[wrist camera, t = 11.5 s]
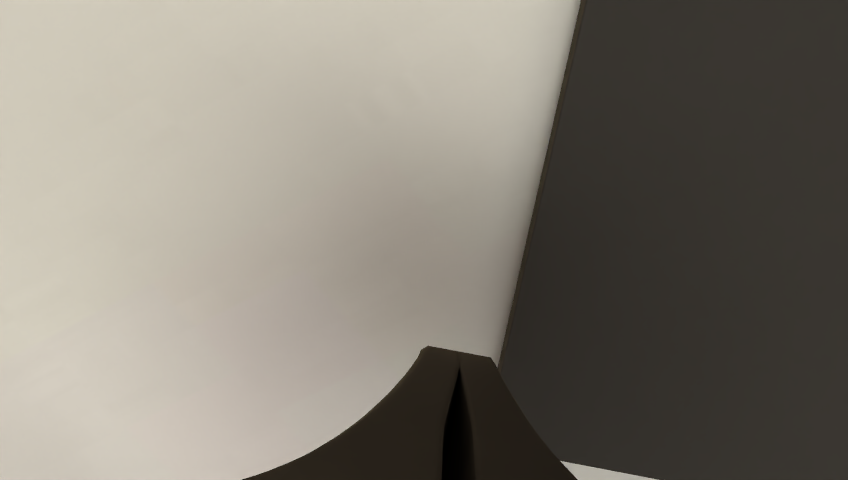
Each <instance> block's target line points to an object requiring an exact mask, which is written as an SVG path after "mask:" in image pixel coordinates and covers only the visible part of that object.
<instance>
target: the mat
mask: <svg viewBox="0 0 848 480" xmlns="http://www.w3.org/2000/svg"><path fill="white" fill-rule="evenodd" d="M498 371H499V373H500V375H501V376H502V378H503V380H504V382H505V384H506V385H507V387H508V389H509V391H510V392H511V394H512V396H513V398H514V399H515V401H516V402H517V404H518V406H519V407H520V409H521V410H522V412H523V413H524V415H525V416H526V418H527V419H528V421H529V423H530V424H531V425H532V427H533V428H534V430H535V431H536V432H537V434H538V435H539V436H540V438H541V439H542V440H543V441H544V443H545V444H546V445H547V447H548V448H549V449H550V450H551V451H552V453H553V454H554V455H555V456H556V457H557V458H558V460H559V461H565V462H570V463H575V464H580V465H586V466H591V467H596V468H601V469H607V470H612V471H617V472H622V473H628V474H633V475H638V476H643V477H648V478H654V479H659V480H848V0H581V4H580V9H579V13H578V17H577V22H576V26H575V30H574V35H573V39H572V44H571V48H570V52H569V57H568V61H567V66H566V70H565V74H564V79H563V83H562V88H561V92H560V96H559V101H558V105H557V110H556V114H555V118H554V123H553V127H552V132H551V136H550V140H549V145H548V149H547V153H546V158H545V162H544V167H543V171H542V175H541V180H540V184H539V189H538V193H537V197H536V202H535V206H534V211H533V215H532V219H531V224H530V228H529V233H528V237H527V241H526V246H525V250H524V255H523V259H522V263H521V268H520V272H519V276H518V281H517V285H516V290H515V294H514V298H513V303H512V307H511V312H510V316H509V320H508V325H507V329H506V334H505V338H504V342H503V347H502V351H501V356H500V360H499V364H498Z"/></svg>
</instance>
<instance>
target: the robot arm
mask: <svg viewBox="0 0 848 480" xmlns="http://www.w3.org/2000/svg"><path fill="white" fill-rule="evenodd" d="M242 480H577V479H576V478H575V477H574V475H573V474H572V473H571V472H570V471H569V470H568V469H567V468H566V467H565V466H564V465H563V464H562V463H561V462H560V461H559V460H558V458H557V457H556V456H555V455H554V454H553V453H552V451H551V450H550V449H549V448H548V447H547V445H546V444H545V443H544V441H543V440H542V439H541V438H540V436H539V435H538V434H537V432H536V431H535V430H534V428H533V427H532V425H531V424H530V423H529V421H528V419H527V418H526V416H525V415H524V413H523V412H522V410H521V409H520V407H519V406H518V404H517V402H516V401H515V399H514V398H513V396H512V394H511V392H510V391H509V389H508V387H507V385H506V384H505V382H504V380H503V378H502V376H501V375H500V373H499V371H498V369H497V367H496V365H495V363H494V362H493V360H492V359H491V358H490V357H485V356H480V355H474V354H469V353H464V352H458V351H453V350H448V349H442V348H437V347H432V346H427V347H425V348H423V349H422V350H421V351H420V354H419V356H418V358H417V359H416V361H415V362H414V364H413V365H412V367H411V368H410V369H409V371H408V372H407V373H406V374H405V376H404V377H403V378H402V379H401V380H400V381H399V382H398V384H397V385H396V386H395V387H394V388H393V389H392V390H391V391H390V392H389V393H388V394H387V395H386V396H385V397H384V398H383V399H382V400H381V401H380V402H379V403H378V404H377V405H376V406H375V407H374V408H373V409H371V410H370V411H369V412H368V413H367V414H366V415H365V416H363V417H362V418H361V419H360V420H359V421H357V422H356V423H355V424H353V425H352V426H351V427H349V428H348V429H347V430H345V431H344V432H342V433H341V434H340V435H338V436H337V437H335V438H334V439H332V440H330V441H329V442H327V443H325V444H324V445H322V446H321V447H319V448H317V449H316V450H314V451H312V452H310V453H308V454H306V455H304V456H302V457H300V458H298V459H296V460H294V461H291V462H289V463H287V464H285V465H282V466H280V467H277V468H275V469H272V470H270V471H267V472H264V473H261V474H259V475H256V476H252V477H249V478H246V479H242Z"/></svg>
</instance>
